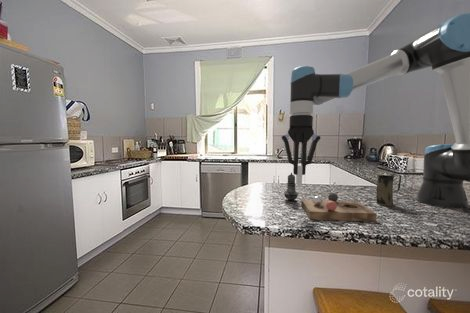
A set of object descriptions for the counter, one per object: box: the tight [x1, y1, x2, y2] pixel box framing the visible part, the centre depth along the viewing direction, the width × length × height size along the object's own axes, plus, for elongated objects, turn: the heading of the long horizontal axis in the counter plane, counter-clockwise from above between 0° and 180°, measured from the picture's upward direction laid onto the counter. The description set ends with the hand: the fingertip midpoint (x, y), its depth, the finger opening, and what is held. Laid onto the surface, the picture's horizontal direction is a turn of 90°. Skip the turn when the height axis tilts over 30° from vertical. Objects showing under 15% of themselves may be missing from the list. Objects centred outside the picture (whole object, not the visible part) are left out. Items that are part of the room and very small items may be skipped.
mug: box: [375, 173, 402, 207], centre depth 87 cm, size 8×6×12 cm
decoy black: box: [328, 192, 339, 202], centre depth 82 cm, size 3×3×3 cm
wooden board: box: [300, 199, 378, 222], centre depth 77 cm, size 20×14×2 cm
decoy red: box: [326, 201, 337, 211], centre depth 72 cm, size 3×3×3 cm
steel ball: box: [311, 195, 323, 206], centre depth 78 cm, size 3×3×3 cm
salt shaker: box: [283, 172, 299, 204], centre depth 91 cm, size 6×6×12 cm
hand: (298, 184), depth 78 cm, fingers closed
